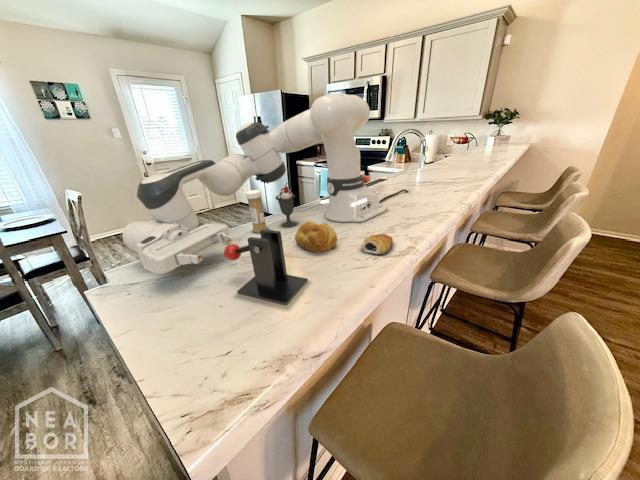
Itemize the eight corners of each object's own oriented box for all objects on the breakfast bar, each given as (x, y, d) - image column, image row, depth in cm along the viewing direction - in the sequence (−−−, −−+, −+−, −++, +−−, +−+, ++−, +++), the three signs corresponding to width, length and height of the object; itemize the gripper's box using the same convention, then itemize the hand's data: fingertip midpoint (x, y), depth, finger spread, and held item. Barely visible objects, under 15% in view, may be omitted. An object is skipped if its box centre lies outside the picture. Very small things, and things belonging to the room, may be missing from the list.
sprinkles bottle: (269, 230, 88) (262, 191, 82) (256, 234, 86) (248, 193, 80) (263, 226, 91) (257, 188, 86) (251, 230, 89) (243, 191, 84)
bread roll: (288, 246, 76) (284, 220, 72) (313, 235, 82) (310, 210, 78) (319, 260, 67) (316, 231, 64) (344, 246, 73) (343, 219, 70)
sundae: (293, 228, 88) (288, 184, 82) (276, 227, 90) (269, 183, 84) (301, 221, 93) (297, 179, 87) (285, 220, 96) (279, 179, 89)
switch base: (238, 295, 55) (224, 240, 50) (263, 274, 63) (253, 224, 57) (286, 308, 50) (277, 248, 45) (308, 283, 58) (302, 229, 52)
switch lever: (225, 264, 57) (217, 250, 56) (236, 257, 60) (229, 243, 59) (269, 254, 50) (261, 237, 49) (279, 246, 53) (272, 230, 52)
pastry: (377, 238, 76) (377, 226, 74) (399, 244, 72) (399, 231, 70) (358, 251, 70) (358, 238, 68) (381, 258, 66) (382, 244, 64)
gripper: (209, 237, 75) (247, 242, 69) (138, 273, 58) (182, 285, 52) (203, 216, 72) (243, 220, 66) (128, 248, 55) (172, 257, 50)
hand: (215, 249), depth 59 cm, fingers open, 8 cm apart
